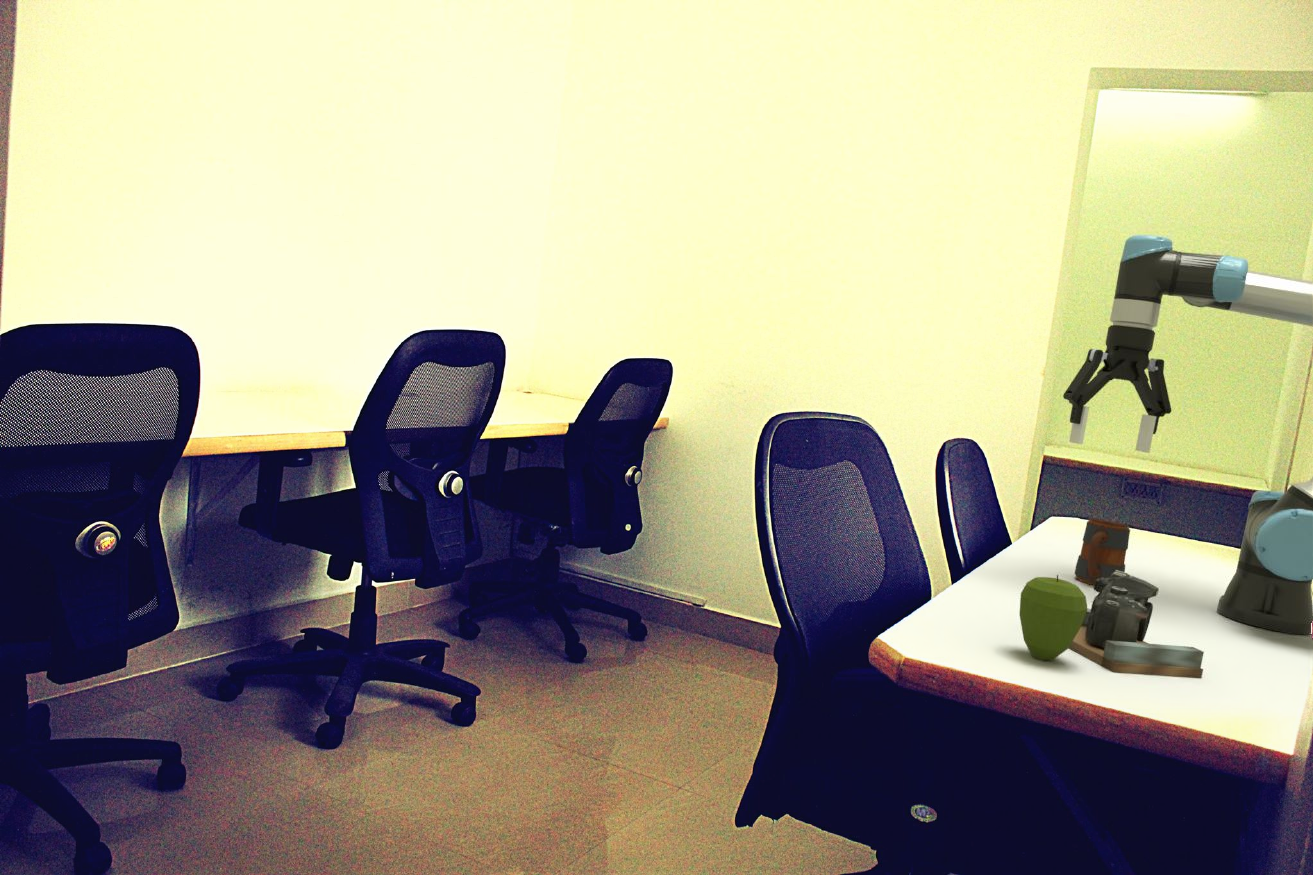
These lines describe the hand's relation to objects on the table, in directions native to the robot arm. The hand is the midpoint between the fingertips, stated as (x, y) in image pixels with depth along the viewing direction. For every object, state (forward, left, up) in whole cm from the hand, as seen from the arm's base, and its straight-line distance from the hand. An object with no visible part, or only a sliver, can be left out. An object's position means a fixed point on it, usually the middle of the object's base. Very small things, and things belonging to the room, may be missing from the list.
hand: (1109, 447), depth 185 cm
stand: (+19, +33, -27) cm, 47 cm away
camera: (+19, +33, -26) cm, 46 cm away
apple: (+34, +39, -27) cm, 58 cm away
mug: (-11, -11, -27) cm, 31 cm away
